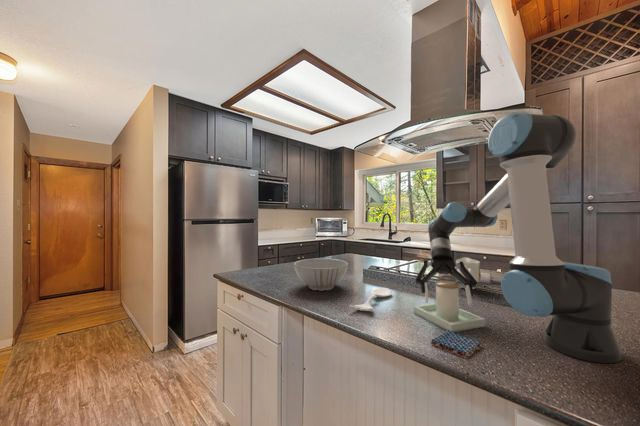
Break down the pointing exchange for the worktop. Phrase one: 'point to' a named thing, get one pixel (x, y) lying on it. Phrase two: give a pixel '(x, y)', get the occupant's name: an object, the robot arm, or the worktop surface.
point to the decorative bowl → (321, 272)
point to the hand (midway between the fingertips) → (448, 302)
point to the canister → (447, 300)
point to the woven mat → (456, 343)
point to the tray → (464, 322)
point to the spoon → (374, 293)
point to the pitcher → (470, 267)
